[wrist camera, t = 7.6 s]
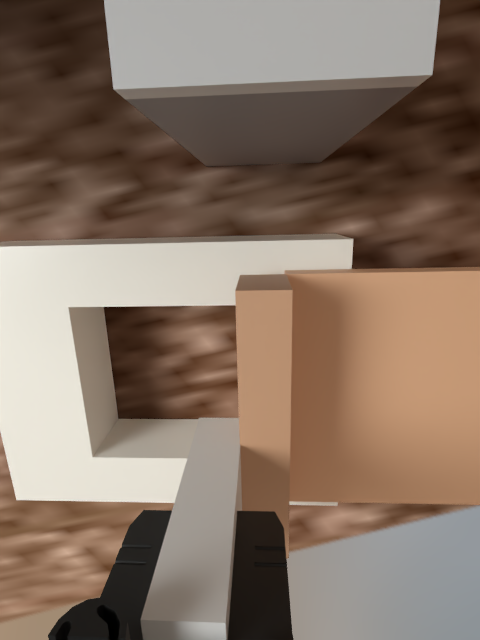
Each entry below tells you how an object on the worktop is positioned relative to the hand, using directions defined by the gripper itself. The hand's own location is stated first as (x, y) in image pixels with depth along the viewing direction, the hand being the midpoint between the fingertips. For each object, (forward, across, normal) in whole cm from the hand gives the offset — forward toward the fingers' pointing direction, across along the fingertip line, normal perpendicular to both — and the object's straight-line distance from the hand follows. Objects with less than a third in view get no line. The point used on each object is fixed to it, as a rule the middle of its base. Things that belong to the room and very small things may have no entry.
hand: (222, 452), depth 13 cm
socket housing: (+5, -2, +2) cm, 6 cm away
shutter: (+2, +6, +2) cm, 6 cm away
